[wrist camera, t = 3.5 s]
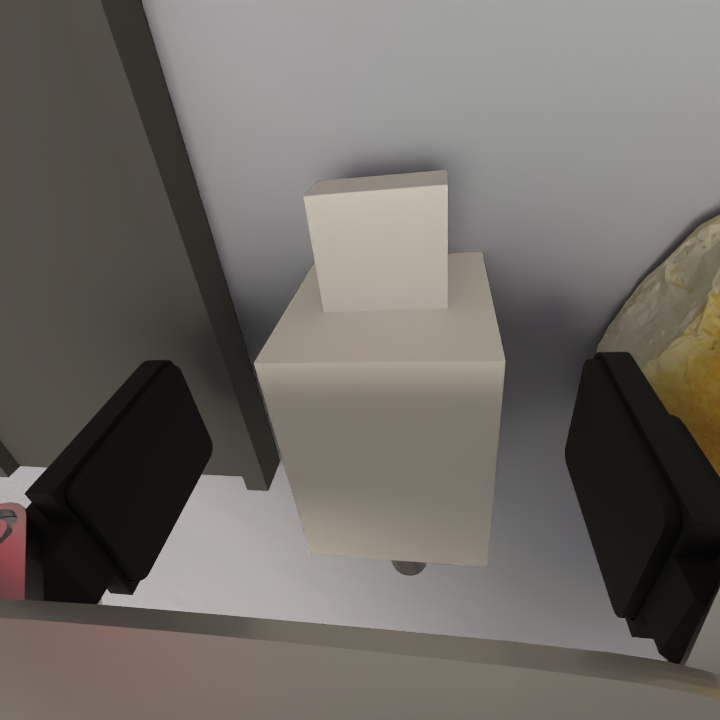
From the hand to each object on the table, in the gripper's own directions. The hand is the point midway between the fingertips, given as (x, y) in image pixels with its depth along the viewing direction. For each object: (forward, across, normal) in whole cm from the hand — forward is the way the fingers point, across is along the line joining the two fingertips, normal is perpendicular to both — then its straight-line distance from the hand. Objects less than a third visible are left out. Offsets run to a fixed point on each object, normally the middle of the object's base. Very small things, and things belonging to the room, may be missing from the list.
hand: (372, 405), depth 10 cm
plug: (+3, 0, +1) cm, 3 cm away
